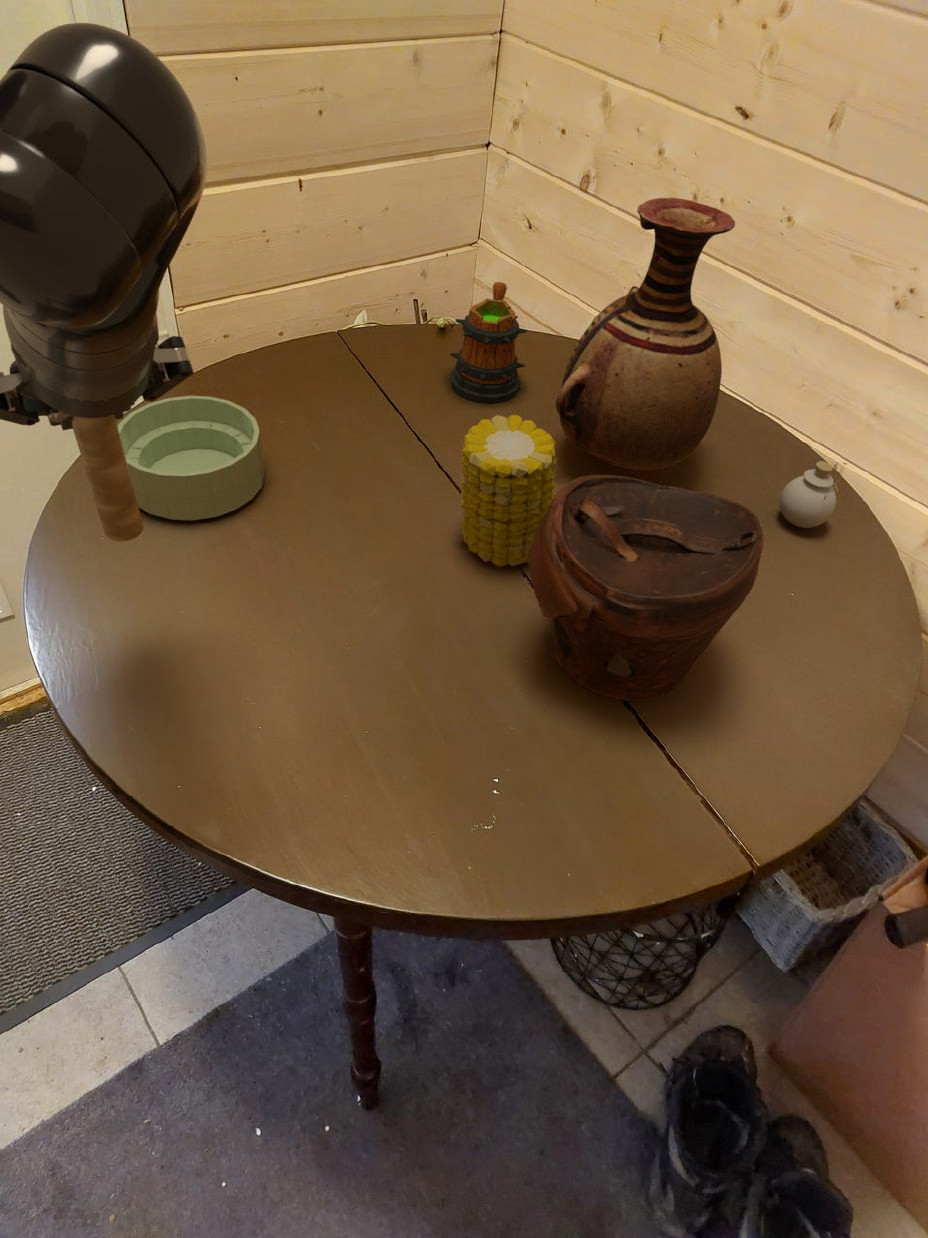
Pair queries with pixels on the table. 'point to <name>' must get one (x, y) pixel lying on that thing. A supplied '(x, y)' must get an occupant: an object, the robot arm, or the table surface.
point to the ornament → (810, 497)
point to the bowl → (192, 456)
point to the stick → (108, 476)
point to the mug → (488, 351)
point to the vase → (649, 354)
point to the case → (639, 579)
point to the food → (505, 487)
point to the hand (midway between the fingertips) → (88, 411)
